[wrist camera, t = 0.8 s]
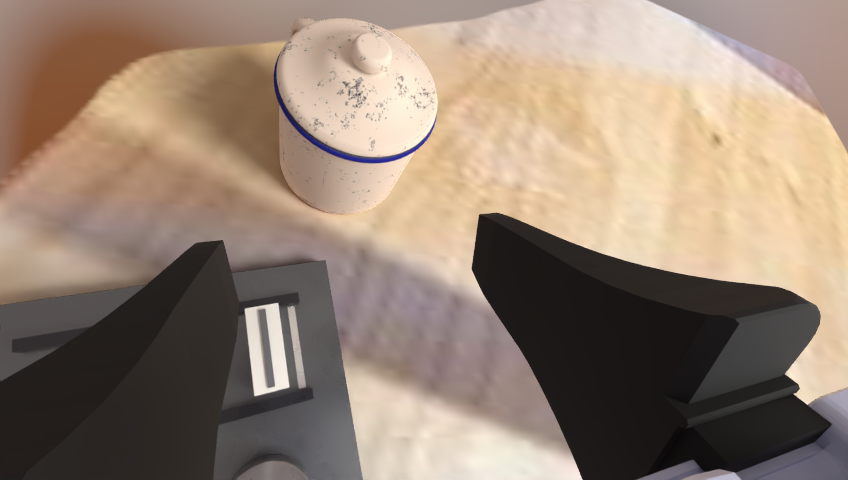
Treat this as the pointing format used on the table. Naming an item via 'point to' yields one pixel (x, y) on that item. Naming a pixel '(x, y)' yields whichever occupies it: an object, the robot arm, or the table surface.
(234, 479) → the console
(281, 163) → the teacup with lid
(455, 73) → the table surface
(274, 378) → the fader
